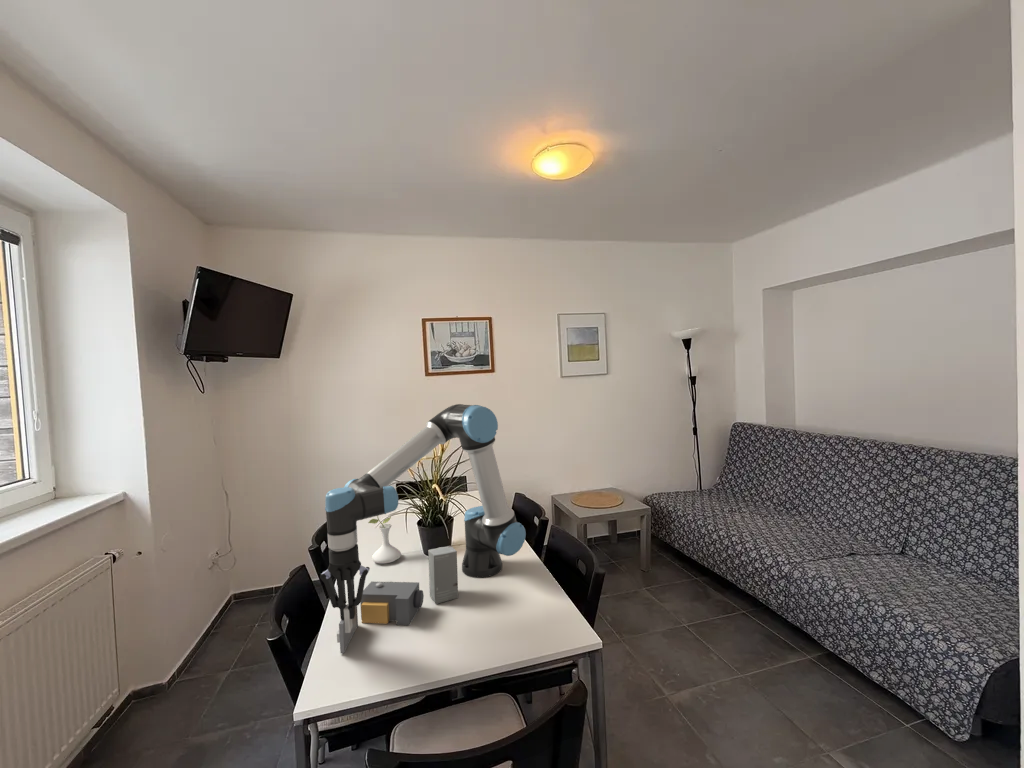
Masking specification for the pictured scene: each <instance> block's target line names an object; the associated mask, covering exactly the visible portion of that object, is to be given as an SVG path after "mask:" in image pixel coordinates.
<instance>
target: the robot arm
mask: <svg viewBox="0 0 1024 768" xmlns="http://www.w3.org/2000/svg"><path fill="white" fill-rule="evenodd" d="M498 428H499V423H498V419H497V416H496V414H495V413H494V412H493V411H492V410H491V409H489V408H488V407H486V406H483V405H478V404H473V405H472V404H461V403H456V404H452V405H450V406H448V407H446V408H444V409H443V410H442V411H440V412H439V413H437V414H436V415H435V416H433V417H432V418H431V419H430V420H428V421H427V422H426V423H425V427H424V428H422V429H421V430H420V431H419V432H417V433H416V434H414V436H412V437H411V438H409V440H407V441H406V442H405V443H404V444H402V445H401V446H399V447H398V448H396V449H395V450H394V451H393V452H392V453H391V454H389V455H388V456H387V457H385V458H384V459H383V460H382V461H380V462H379V463H377V464H376V465H375V466H374V467H372V468H371V469H370V470H369V471H368V472H366V473H364V474H363V475H361V477H359V478H353V479H350V480H349V481H347V483H345V485H344V487H336V488H334V489H331V490H329V491H328V492H326V494H325V501H324V502H325V503H324V504H325V508H324V510H325V511H324V512H325V518H326V528H327V545H328V547H327V548H328V561H329V565H328V567H327V569H326V570H323V571H322V573H320V576H319V578H320V580H321V581H322V583H324V586H325V589H326V592H327V594H328V598H329V601H330V604H331V606H332V608H333V609H335V608H337V609H339V615H340V616H339V617H340V621H341V620H344V622H345V633H350V632H351V629H352V627H353V624H352V619H354V617H355V606H356V605H357V606H359V605H361V604H360V602H361V599H362V594H363V590H364V589H365V583H366V578H367V575H368V573H369V571H370V567H369V566H366V567H365V566H363V565H362V562H361V561H360V559H359V558H360V556H359V555H360V554H359V545H358V542H359V541H358V525H357V523H358V521H362V520H367V519H369V518H374V517H377V516H378V517H379V516H382V515H387V514H389V513H392V512H395V511H396V510H397V508H398V506H399V495H398V492H397V490H396V488H395V487H394V486H393V485H391V484H393V483H394V482H395V481H396V480H397V479H399V478H400V477H401V476H402V475H404V473H406V472H408V470H410V468H411V467H413V466H415V465H416V464H417V463H418V462H419V461H421V460H422V459H423V458H424V457H425V456H427V455H428V454H429V453H430V452H432V451H433V450H434V449H435V448H436V447H438V446H439V445H445V444H446V443H447V442H449V441H450V440H453V439H456V438H457V439H459V443H460V446H461V450H462V451H464V452H465V453H467V455H468V458H469V462H470V466H471V470H472V472H473V477H474V480H475V484H476V487H477V491H478V495H479V498H480V502H481V505H478V506H474V507H471V508H468V509H467V510H466V511H465V512H464V520H463V522H464V535H465V536H464V537H465V538H464V539H465V552H464V555H463V559H462V563H461V570H462V573H463V574H464V575H466V576H468V577H470V578H471V577H472V578H486V577H493V576H494V575H497V574H498V573H500V572H501V571H502V570H503V561H502V558H501V555H504V556H506V557H510V556H514V555H515V554H517V553H518V552H519V551H520V550H521V548H523V545H524V543H525V540H526V535H527V533H526V528H525V527H524V526H525V525H523V524H522V523H520V522H518V521H517V518H516V514H515V511H514V510H513V509H512V508H511V507H509V504H508V500H507V496H506V492H505V490H504V489H505V488H504V485H503V482H502V477H501V474H500V469H499V466H498V461H497V459H496V456H495V455H496V454H495V451H494V447H493V446H494V444H495V442H496V435H497V434H498V433H497V432H498ZM358 572H359V574H358V575H360V578H359V580H358V586H357V590H355V576H356V574H357V573H358ZM332 577H334V579H335V580H336V586H337V589H336V587H335V584H334V581H333V578H332ZM345 582H346V583H345ZM346 589H347V594H346ZM355 591H356V594H355ZM346 595H347V598H346ZM355 597H356V599H355Z"/></svg>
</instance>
